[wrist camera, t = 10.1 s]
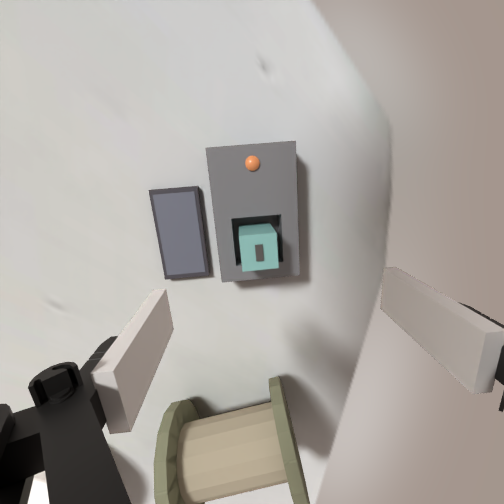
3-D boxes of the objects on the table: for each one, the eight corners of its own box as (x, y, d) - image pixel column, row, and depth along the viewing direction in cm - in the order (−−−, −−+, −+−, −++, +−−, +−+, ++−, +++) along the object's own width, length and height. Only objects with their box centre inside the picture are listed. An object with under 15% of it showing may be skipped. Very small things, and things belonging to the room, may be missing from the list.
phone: (167, 276, 36) (165, 279, 35) (151, 189, 33) (148, 190, 32) (209, 272, 36) (208, 275, 35) (197, 185, 33) (196, 186, 32)
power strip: (209, 151, 32) (205, 147, 28) (288, 145, 32) (296, 140, 28) (223, 271, 36) (221, 283, 32) (293, 265, 36) (300, 275, 32)
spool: (202, 446, 45) (185, 572, 31) (174, 380, 41) (139, 489, 26) (292, 424, 45) (318, 541, 30) (273, 355, 41) (293, 452, 26)
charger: (238, 224, 33) (238, 236, 27) (268, 222, 34) (276, 232, 27) (241, 253, 35) (242, 272, 28) (270, 250, 35) (279, 268, 28)
